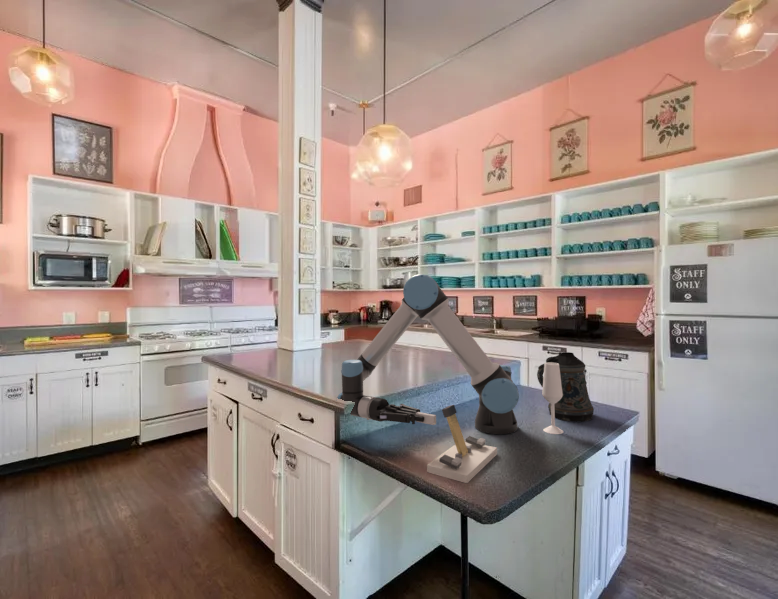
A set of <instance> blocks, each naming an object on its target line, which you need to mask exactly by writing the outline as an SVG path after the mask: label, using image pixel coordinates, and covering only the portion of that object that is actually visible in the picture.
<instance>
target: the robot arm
mask: <svg viewBox="0 0 778 599" xmlns="http://www.w3.org/2000/svg"><path fill="white" fill-rule="evenodd" d="M402 292H403V294H402V295H403V298H402V299H401V304H400V306H399V307H398V308H397V310H396V311H395V312H394V313H393V315H391V317H390V318H389V320H388V321H386V323H385V324H384V326H383V327H382V328H381V329H380V331H378V333H377V334H376V336H375V337H374V338H373V340H372V341H371V342H370V343H369V344H368V346H366V348H364V351H362V353H361V354H360V355H359V356H358V358H357V359H346V360H344V361H342V362H341V370H340V372H341V388H342V389H341V390H342V392H340V393H339V394H338V395H337V397H336V399H337V398H338V399H342V400H344V401H352V402H355V405H354V407H353V409H352V411H351V413H350V414H351V415H350V416H352V415H353V417H358V418H363V419H366V420H368V421H369V420H372V421H376V422H380V423H381V422H392V423H393V422H394V423H403V424H404V423H405V424H410V423H411V425H415V424H416V422H417V423H421V424H426V425H432V426H435V425H437V415H436V414H431V413H428V412H427V413H426V412H421V409H420V408H417V407H416V408H415V407H413V406H409V405H405V404H404V403H400V404H399V405H396V404H393V403H392V404H390V403H389V401H388V400H387V399H385V398H382V397H381V398H380V397H376V396H369V395H364V381H365V380H366V379H368V378H369V377H370V376H371V375H372V373H373V372H374V370H375V369H376V368H377V366H378V365H380V363H381V361H382V360H383V359H384V358H385V356H386V355H387V354H388V353H389V351H390V350H391V349H392V348H393V347H394V346H395V344H396V343H397V341H399V339H400V338H401V337H402V336H403V334H405V332H406V331H407V330H408V328H409V327H410V326H411V325H412V324H413V322H414V321H415V320H416V318H418V317H419V318H420V320H423V321H427V322H428V323H429V324H430V325H431V327H432V328H433V329H434V331H435V332H436V333H437V335H438V336H439V337H440V338H441V340H442V341H443V343H445V345H446V346H447V347H448V349H449V350H450V351H451V354H453V356H454V357H455V358H456V359H457V361H458V363H460V365H461V366H462V367H463V369H464V370H465V371H466V372H467V374H468V375H469V376H470V385H471V387H473V389H474V391H476V393H477V394H478V401H479V402H478V409H477V412H476V415H475V418H474V427H475V429H477V430H478V431H480V432H481V433H482V432H483V433H485V434H492V435H493V434H494V435H508V434H513V433H515V432H517V430H518V421H517V418H516V415H515V412H514V409H515V408H516V406H517V405H518V403H519V399H520V394H519V389H518V386H517V385H516V383H515V382H514V381H513V379H512V369H511V368H512V367H511V366H509V365H505V364H502V365H501V364H500V363H498V362H493V361H491V359H490V358H489V357H488V355H487V354H486V352H484V351H485V350H483V349H482V347H481V346H480V345H479V344H478V342H477V341H476V339H474V337H473V336H472V334H471V333H470V332H469V331H468V329H467V328H466V327H465V325H464V324H463V323H462V322H461V320H460V319H459V317H458V316H457V315H456V314H455V312H454V311H453V310H452V308H450V306H449V301H450V300H449V298H448V296H447V295H446V294H445V293H444V291H443V290H442V288H440V286H439V283H438V282H437V281H436V280H435V279H434V278H433V277H432V276H431V275H428V274H424V273H417V274H415V275H413V276H411V277H409V279H408V280H406V281H405V283H404V286H403V291H402Z"/></svg>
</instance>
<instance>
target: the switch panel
mask: <svg viewBox="0 0 778 599" xmlns="http://www.w3.org/2000/svg"><path fill="white" fill-rule="evenodd" d="M465 444H466V447H467V450H468V453H467V454H466V455H464V456H463V457H462V454H459V453H458V451H457V448H456V445H455V444H453V445H452V446H451V447H450V448H448V449H447V450H445V451H444V452H442V453H441V454H439V455H438V456H437V457H436V458H434V459H433V460H432V461H430V462H429V463H428V464H426V472H427V473H429V474H433V475H437V476H440V477H442V478H446V479H450V480H453V481H457V482H462V483H464V484H468V483H469V482H471V480H472V479H473V478H474V477H476V475H477V474H478V473H479V472H480V471H481V470H482V469H484V468H485V467H486V465H488V464H489V463H490V462H491V461H492V460H493V459H494V458H495V457H496V456H497V455H498V447H495V446H490V445H486V444H485V445H484V446H483V447H482V448H479V447H477V446H474V445H472V444H469V443H467V442H465ZM444 455H447V456H450V457H452V458H454V459H455V458H456V457H458V458H461V459H462V463H461V466H460V467H459V468H457V469H454V468H452V467H450V466H448V465H446V464H443V463H441V462H439V461H440V458H441V457H442V456H444Z"/></svg>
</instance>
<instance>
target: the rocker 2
mask: <svg viewBox="0 0 778 599" xmlns="http://www.w3.org/2000/svg"><path fill="white" fill-rule="evenodd" d="M464 441H465V442H467V443H469V444H472V445H474V446H477V447H479V448H482V447H483V446H484V445H486V438H483V437H479V438H477V437H473V436H471V435H469V436H468V437H466V438H465V440H464Z"/></svg>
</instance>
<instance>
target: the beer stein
mask: <svg viewBox="0 0 778 599" xmlns="http://www.w3.org/2000/svg"><path fill="white" fill-rule="evenodd" d="M548 362H551V363H558V364H559V369H560V377H561V385H562V393H563V396H562V398H561V399H560V400H559V401H558V402H557V403H555V404H554V409H555V419H558V420H560V421H566V422H571V423H572V422H573V423H579V422H581V423H582V422H583V423H584V422H588V421H591V420H593V416H594V411H595V410H594V407H593V404H592V403H591V402H592V401H591V399H590V396H589V392H588V386H587V381H586V375H585V370H586V364H585V363H584V361H582V360H581V359H579V358H578V357H576V356H575V355H574V352H568V351H565V352H564V351H561V352H559V353H558V354H557V355H555V356H550V357H547V358H546V360H545V363H548ZM545 363H543V364H540V365H539V366H538V367H537V373H536V376H537V377H536V378H537V381H538V382H539V385H540V387H541V388H543V378H544V364H545ZM547 408H548V411H549V415H550V416H551V403H549V402H548V406H547Z"/></svg>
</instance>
